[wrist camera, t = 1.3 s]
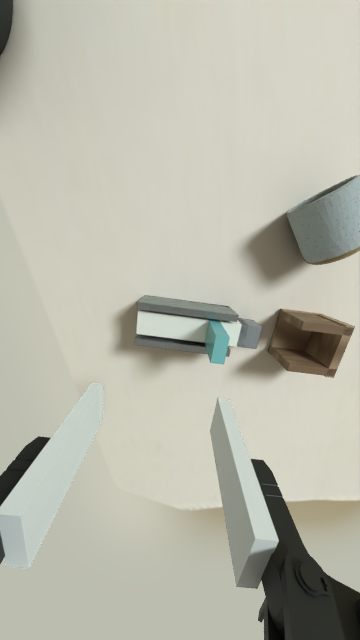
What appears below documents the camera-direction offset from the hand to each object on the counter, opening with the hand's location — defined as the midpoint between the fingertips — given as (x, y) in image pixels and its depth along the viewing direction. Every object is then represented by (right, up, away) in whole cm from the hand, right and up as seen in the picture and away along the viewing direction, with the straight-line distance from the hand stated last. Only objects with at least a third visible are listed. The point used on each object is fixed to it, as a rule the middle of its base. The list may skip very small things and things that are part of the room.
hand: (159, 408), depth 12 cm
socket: (+21, +3, +21) cm, 30 cm away
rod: (+4, +5, +19) cm, 20 cm away
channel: (+2, +6, +20) cm, 21 cm away
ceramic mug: (+22, +20, +16) cm, 34 cm away
